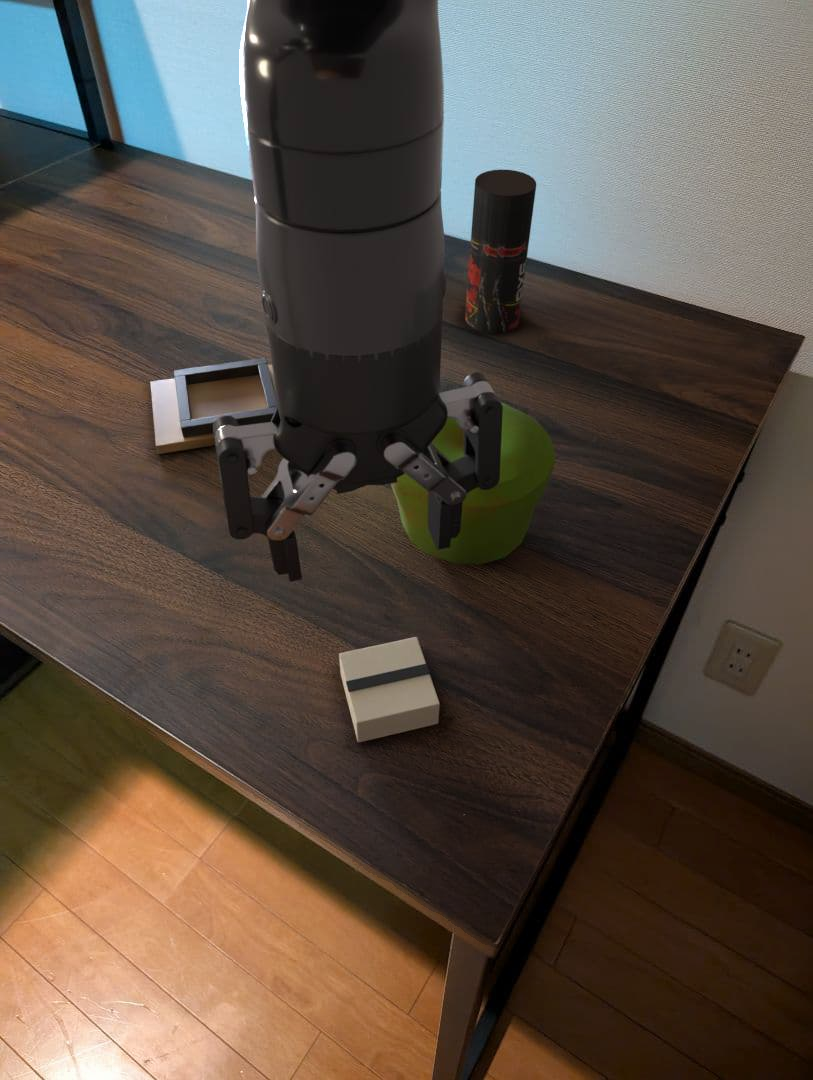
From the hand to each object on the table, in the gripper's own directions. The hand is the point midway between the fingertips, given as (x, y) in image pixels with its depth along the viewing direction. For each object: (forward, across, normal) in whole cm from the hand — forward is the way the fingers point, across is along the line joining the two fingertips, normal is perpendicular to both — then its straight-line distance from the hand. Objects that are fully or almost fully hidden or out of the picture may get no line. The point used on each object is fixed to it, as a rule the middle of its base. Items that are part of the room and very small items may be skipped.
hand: (366, 553), depth 45 cm
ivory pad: (+14, -1, +1) cm, 14 cm away
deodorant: (+15, -24, -43) cm, 51 cm away
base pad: (+14, +6, -34) cm, 37 cm away
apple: (+15, -11, -13) cm, 22 cm away
